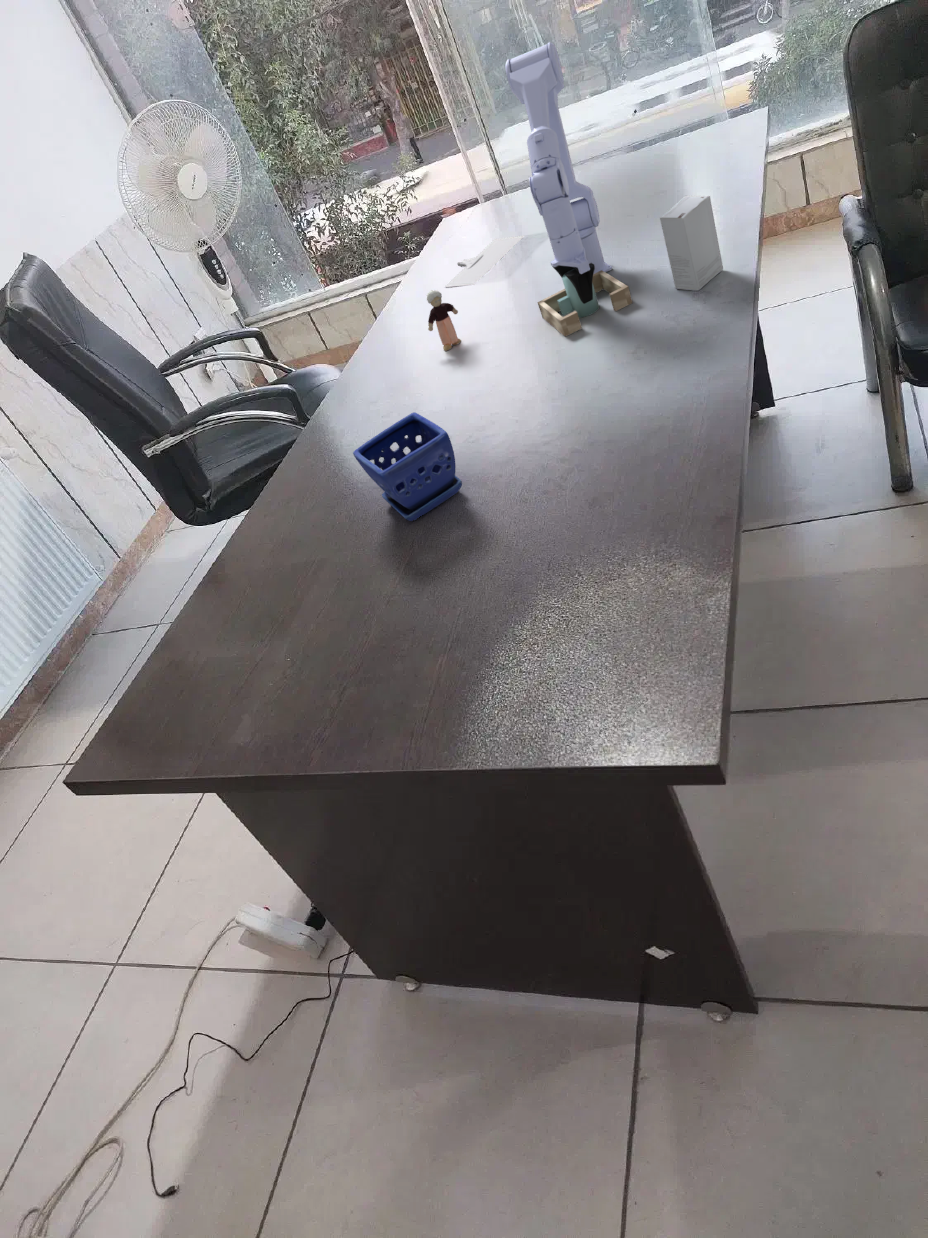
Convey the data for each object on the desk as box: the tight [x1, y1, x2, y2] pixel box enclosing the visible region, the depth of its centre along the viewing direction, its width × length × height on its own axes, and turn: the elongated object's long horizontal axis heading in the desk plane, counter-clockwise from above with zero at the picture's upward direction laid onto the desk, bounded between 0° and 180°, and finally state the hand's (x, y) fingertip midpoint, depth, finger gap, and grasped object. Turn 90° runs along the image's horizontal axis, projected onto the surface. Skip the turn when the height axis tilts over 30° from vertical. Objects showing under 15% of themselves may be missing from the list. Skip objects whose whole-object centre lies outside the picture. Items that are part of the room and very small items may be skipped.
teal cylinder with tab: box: [557, 269, 600, 319], centre depth 176 cm, size 6×8×8 cm
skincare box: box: [659, 195, 724, 292], centre depth 164 cm, size 8×6×15 cm
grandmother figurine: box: [426, 289, 462, 352], centre depth 187 cm, size 8×4×13 cm, turn 131°
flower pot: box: [352, 412, 463, 522], centre depth 144 cm, size 13×13×12 cm
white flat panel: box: [444, 235, 525, 288], centre depth 220 cm, size 25×24×1 cm
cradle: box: [537, 270, 633, 338], centre depth 177 cm, size 14×15×4 cm
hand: (582, 297), depth 176 cm, fingers closed on teal cylinder with tab, 5 cm apart
